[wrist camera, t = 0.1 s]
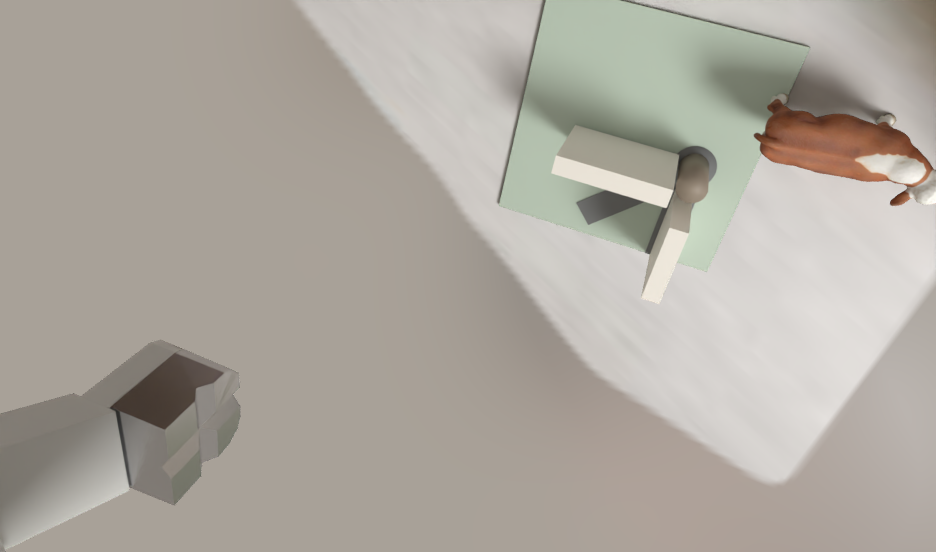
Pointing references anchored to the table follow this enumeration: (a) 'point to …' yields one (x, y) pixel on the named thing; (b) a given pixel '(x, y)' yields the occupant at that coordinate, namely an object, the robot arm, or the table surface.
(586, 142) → the white rectangular slab
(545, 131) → the mat
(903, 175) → the bull figurine
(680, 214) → the fixed rail
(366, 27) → the table surface
